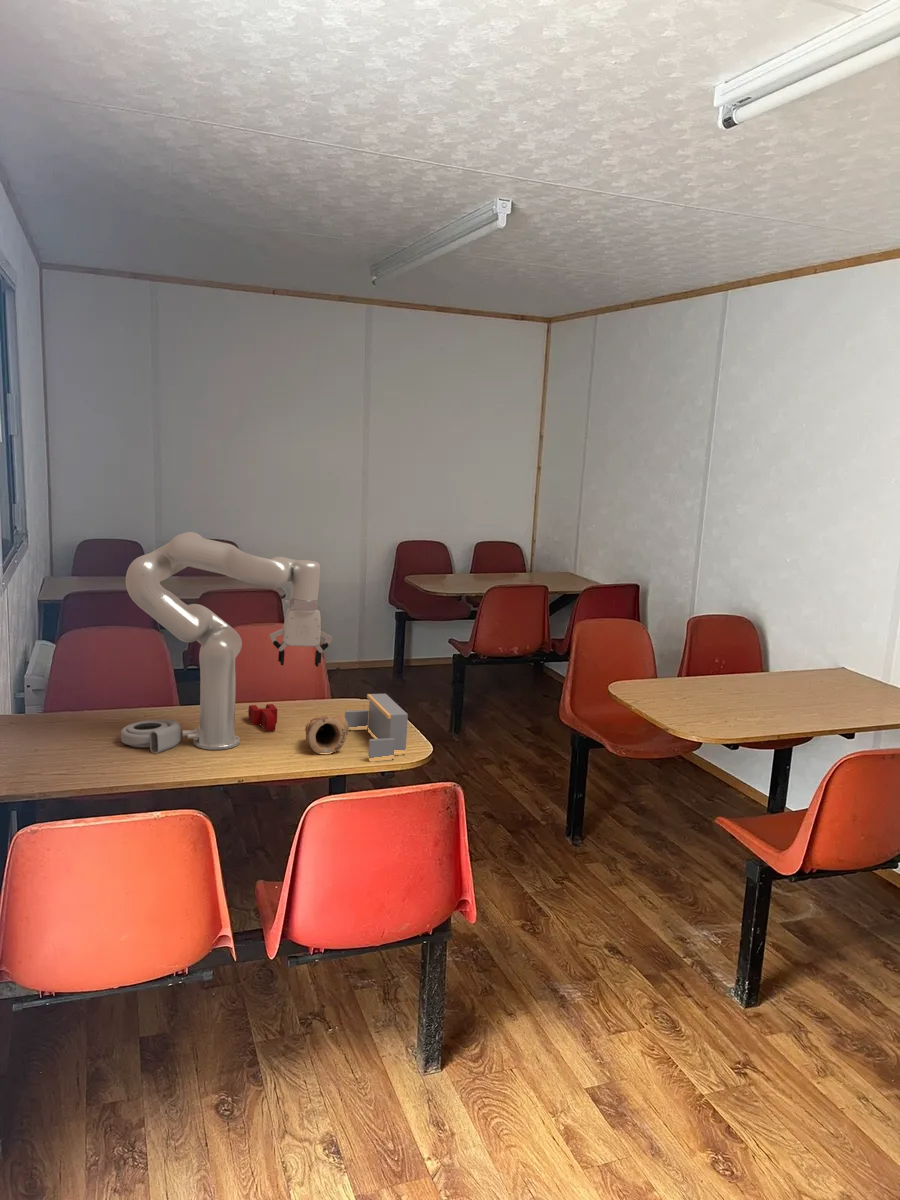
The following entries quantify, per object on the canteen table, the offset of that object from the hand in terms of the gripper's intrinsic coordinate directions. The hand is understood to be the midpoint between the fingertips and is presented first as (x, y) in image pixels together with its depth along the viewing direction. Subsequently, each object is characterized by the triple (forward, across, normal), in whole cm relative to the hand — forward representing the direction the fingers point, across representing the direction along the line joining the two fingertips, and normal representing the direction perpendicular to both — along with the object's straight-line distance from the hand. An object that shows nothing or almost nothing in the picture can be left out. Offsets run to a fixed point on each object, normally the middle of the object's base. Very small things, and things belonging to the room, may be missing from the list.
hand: (299, 664), depth 244 cm
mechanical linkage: (+25, -6, +21) cm, 33 cm away
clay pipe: (+24, +10, 0) cm, 26 cm away
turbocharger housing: (+26, -38, +6) cm, 47 cm away
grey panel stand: (+23, +24, +1) cm, 33 cm away
